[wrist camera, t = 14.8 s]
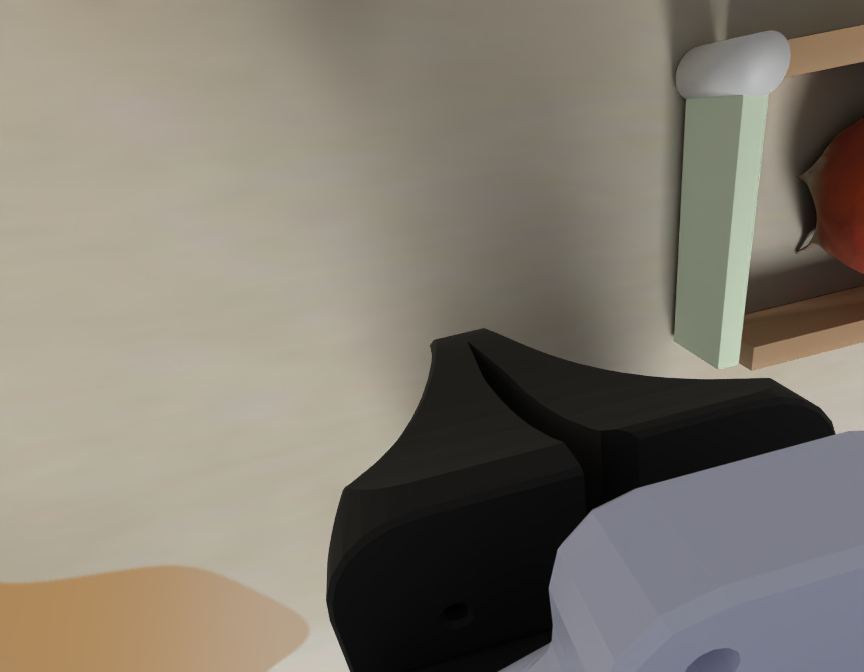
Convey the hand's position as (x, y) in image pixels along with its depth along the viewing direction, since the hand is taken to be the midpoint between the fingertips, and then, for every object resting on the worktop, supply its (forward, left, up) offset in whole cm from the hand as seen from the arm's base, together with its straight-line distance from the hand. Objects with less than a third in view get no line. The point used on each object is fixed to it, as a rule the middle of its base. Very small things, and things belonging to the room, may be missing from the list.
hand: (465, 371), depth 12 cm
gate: (0, -13, -10) cm, 16 cm away
